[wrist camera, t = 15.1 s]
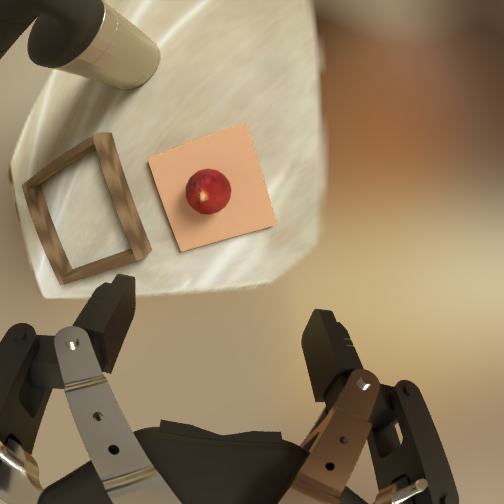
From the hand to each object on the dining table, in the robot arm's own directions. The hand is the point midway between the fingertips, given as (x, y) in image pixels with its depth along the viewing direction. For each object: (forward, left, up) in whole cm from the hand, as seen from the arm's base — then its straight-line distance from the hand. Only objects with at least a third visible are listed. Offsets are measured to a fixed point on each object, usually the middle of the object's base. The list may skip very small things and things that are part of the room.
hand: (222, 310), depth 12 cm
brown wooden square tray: (-7, -28, -30) cm, 41 cm away
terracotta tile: (-3, -5, -30) cm, 30 cm away
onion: (-3, -5, -28) cm, 29 cm away
